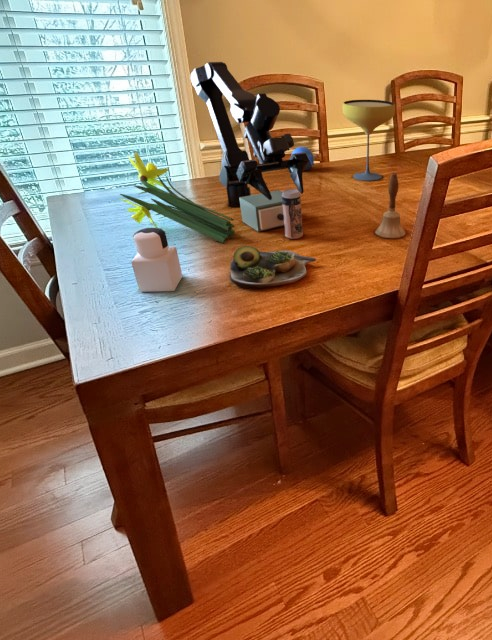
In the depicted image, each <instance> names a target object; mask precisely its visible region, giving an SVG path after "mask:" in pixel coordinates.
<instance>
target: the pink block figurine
mask: <svg viewBox="0 0 492 640" xmlns="http://www.w3.org/2000/svg"><path fill="white" fill-rule="evenodd" d="M132 238H133V242H134V245H135V250H136V255H135V256H134V257H133V259H132V260H131V262H130V263H131V267H132V269H133V273H134V276H135V281H136V283H137V287H138V290H139V292H140V293H146V292H148V293H149V292H174V291H176V288H177V286H179V283H180V281H181V279H182V278H183V272H182V268H181V262H180V258H179V254H178V249H177V247H176V246H169V242H168V238H167V234H166V230H164V229H162V228H159V227H158V228H156V227H144V228H141V229H139V230H137V231H135V232H134V234H133V235H132Z"/></svg>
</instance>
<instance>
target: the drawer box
mask: <svg viewBox="0 0 492 640" xmlns="http://www.w3.org/2000/svg"><path fill="white" fill-rule="evenodd" d="M270 193H271V196H272V199H271V200H269V199H268V198H266V197H265V196H264V195H263V194H262V193H260V192H259V193H256V194H255V193H254V194H251V195H250V196H244V197H239V199H240V206H239V207H240V213H241V221H242V222H243V223H244V224H246V226H248V227H250V228H251V229H253V230H255V231H256V232H259V233H260V232H264V231H269V230H273V229H276V228H281V227H284V225H280V226H276V227H272V228H268V229H263V230H262V229H260V223H259V214H258V209H261V208H265V207H270V206H275V205H280V204H283V203H282V193H283V190H279V189H277V190H271V191H270Z"/></svg>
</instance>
